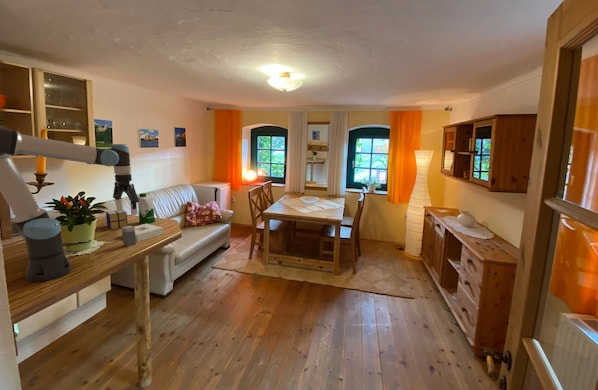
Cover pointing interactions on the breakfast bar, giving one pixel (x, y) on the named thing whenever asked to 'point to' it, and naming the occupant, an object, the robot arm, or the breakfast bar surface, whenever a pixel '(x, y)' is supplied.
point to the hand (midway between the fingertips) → (127, 213)
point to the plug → (128, 235)
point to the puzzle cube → (116, 219)
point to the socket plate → (146, 231)
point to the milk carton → (146, 209)
